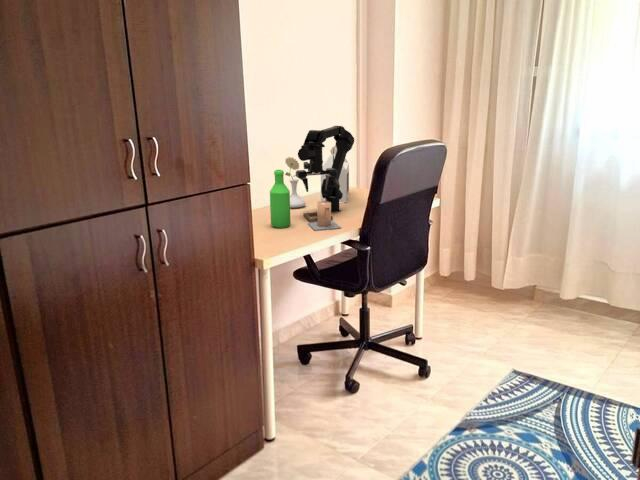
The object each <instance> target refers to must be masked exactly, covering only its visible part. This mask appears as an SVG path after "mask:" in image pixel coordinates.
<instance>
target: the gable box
mask: <svg viewBox="0 0 640 480" xmlns="http://www.w3.org/2000/svg"><path fill="white" fill-rule="evenodd" d="M329 151H330V155H329V156H328V157H327V159H326V161H325V163H323V170H326V168H332V165H333V162H334V158H335V155H336V152H337V148H336V144H335V145H334V146H332V147H331V149H330V150H329ZM326 175H327V174H324V175H320V186H321V185H322V183H323V180H324V179H326ZM338 181H339V185H340V188H339V189H340V191H341V192H342V194H343V196H342V198H341V199H339V202H348V199H349V196H348V195H350V163H349V162H348V160H347V158H345V160H344V164H343V167H342V170H341V173H340V177H339V180H338ZM347 198H348V199H347ZM320 201H325V198H323V197H322V193H321V192H320Z"/></svg>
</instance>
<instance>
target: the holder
mask: <svg viewBox="0 0 640 480" xmlns="http://www.w3.org/2000/svg"><path fill="white" fill-rule="evenodd" d="M303 218H304V219H305V220H306V221H307V223H313V222H317V211H314V212H303ZM331 221H334V220H333V215H331Z"/></svg>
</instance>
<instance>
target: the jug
mask: <svg viewBox="0 0 640 480" xmlns="http://www.w3.org/2000/svg"><path fill="white" fill-rule="evenodd" d="M316 207H317V209H316V210H317V211H316V212H317V216H316V217H317V225H318V226H321V227H328V226H331V216H332V212H331V202H327V201H321V200H320V201H317V205H316Z"/></svg>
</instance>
